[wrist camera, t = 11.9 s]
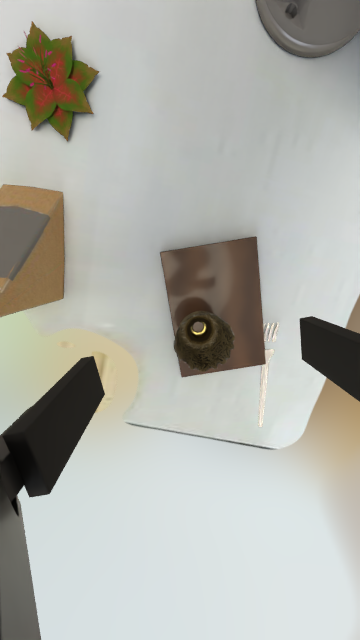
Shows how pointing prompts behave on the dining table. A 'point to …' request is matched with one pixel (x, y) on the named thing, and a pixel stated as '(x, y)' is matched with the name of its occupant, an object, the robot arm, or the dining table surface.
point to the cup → (204, 341)
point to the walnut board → (219, 295)
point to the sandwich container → (30, 248)
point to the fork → (265, 371)
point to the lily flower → (49, 81)
